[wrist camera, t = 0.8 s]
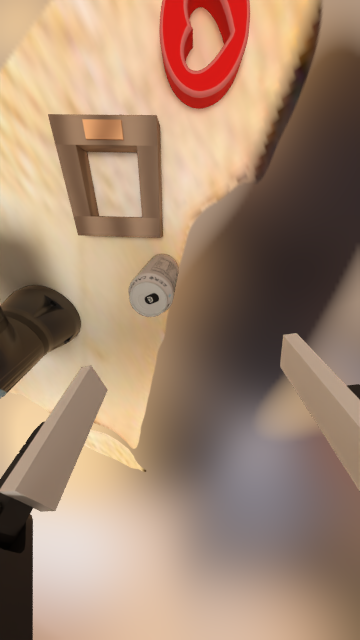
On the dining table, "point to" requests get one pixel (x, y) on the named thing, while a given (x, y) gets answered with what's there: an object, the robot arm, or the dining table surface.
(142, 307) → the energy drink can
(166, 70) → the decorative ornament
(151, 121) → the frame
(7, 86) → the dining table surface
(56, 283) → the dining table surface
